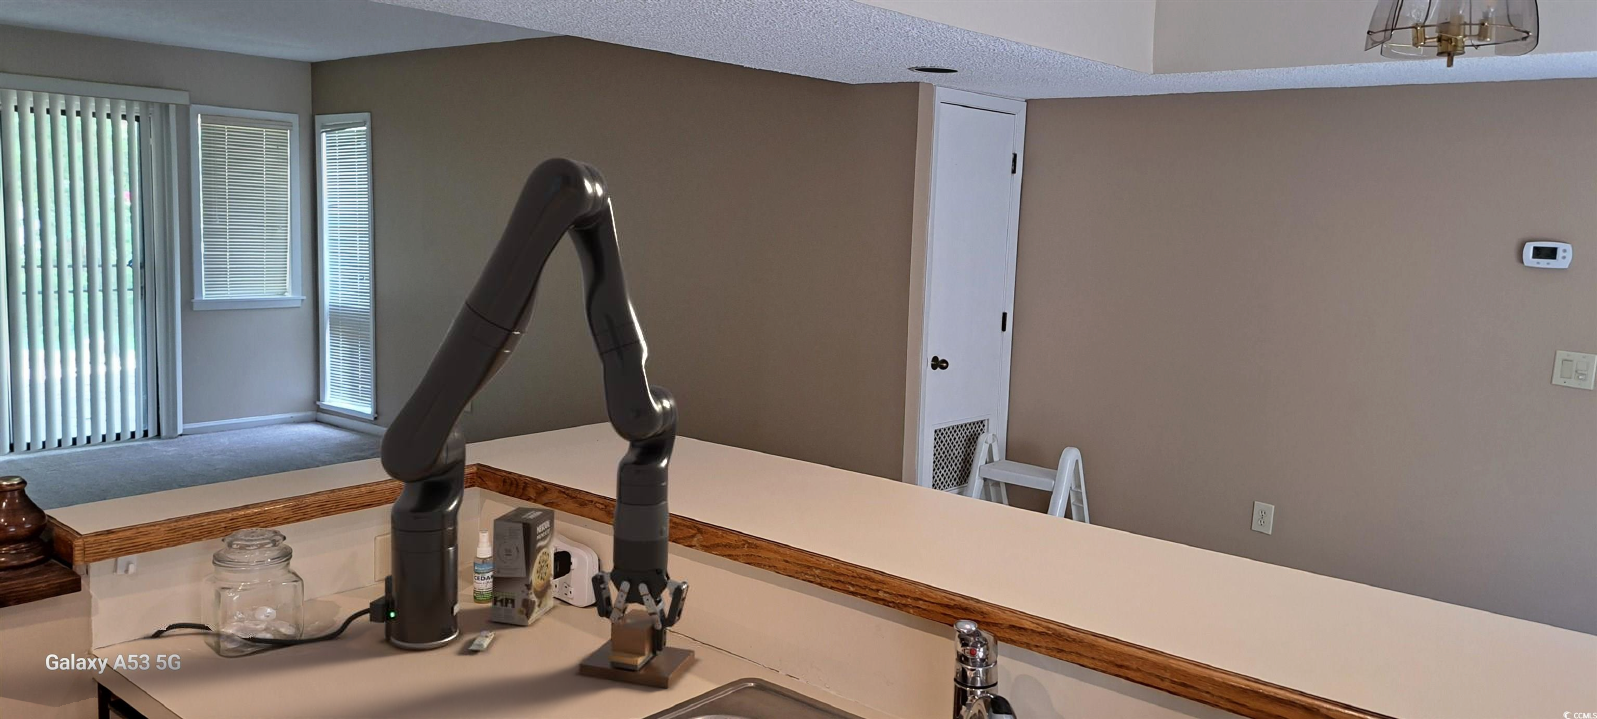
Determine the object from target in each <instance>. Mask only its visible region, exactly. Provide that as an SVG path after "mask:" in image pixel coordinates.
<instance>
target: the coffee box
mask: <svg viewBox="0 0 1597 719" xmlns="http://www.w3.org/2000/svg"><path fill="white" fill-rule="evenodd" d="M555 511H556V510H555V509H553V508H541V507H523V506H518V507H516V508H515V509H513V510H511V511H508V512H506V513H504V514H502V515H501V516H499V517H497V518H494V519H493V528H492V531H493V532H492V540H493V541H492V571H491V572H492V578H491V579H492V586H491V621H492V622H495V623H497V622H498V623H504V624H511V625H518V626H525V627H527V626H529V625H531V624H532V623H533V622H534V621H536V620H537V619H538V618H540V617H541V616H542V615H544V614H545V613H546V612H548V611H549V610H551V609H552V608H553V606H554V558H555V556H554V555H555V553H554V552H555Z"/></svg>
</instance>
